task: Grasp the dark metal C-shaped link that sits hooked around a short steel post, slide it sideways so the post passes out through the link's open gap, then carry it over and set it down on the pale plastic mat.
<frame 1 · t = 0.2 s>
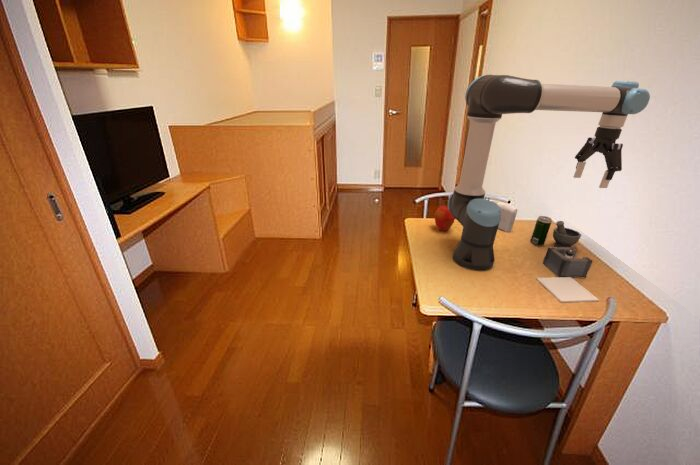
hand: (589, 182, 128), 28 cm above the table, fingers open, 13 cm apart
mat: (565, 289, 108), on the table
mortar and pestle: (560, 246, 137), on the table
stand: (563, 269, 120), on the table
beer can: (536, 243, 139), on the table
apple: (442, 229, 149), on the table
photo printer: (500, 228, 152), on the table
c link: (563, 269, 120), on the table
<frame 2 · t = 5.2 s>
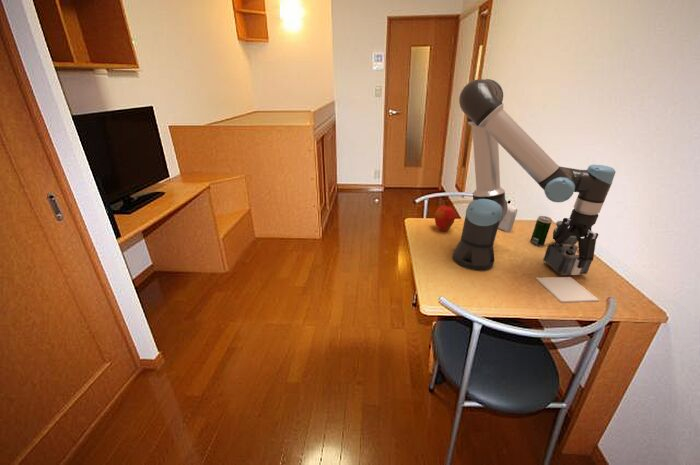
hand: (564, 266, 119), 2 cm above the table, fingers closed on c link, 10 cm apart
c link: (563, 266, 119), point 1 cm above the table, touching gripper
everything else where it was.
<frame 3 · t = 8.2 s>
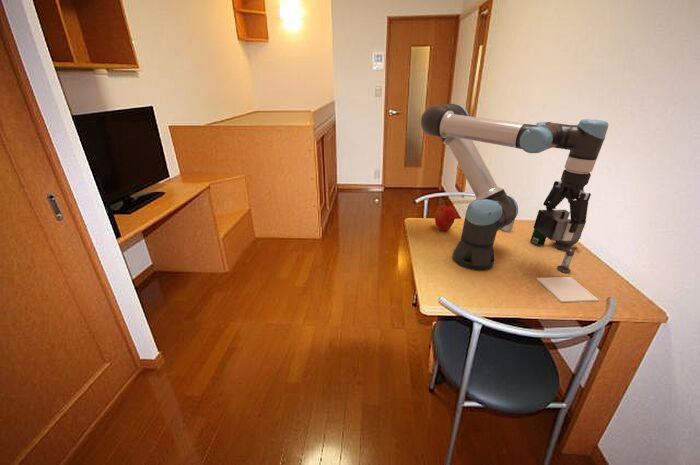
hand: (555, 233, 112), 16 cm above the table, fingers closed on c link, 10 cm apart
c link: (555, 233, 112), point 15 cm above the table, touching gripper
everything else where it was.
when the fingers open (2 cm above the table, at t = 11.4 s): c link stays where it is, resting on mat.
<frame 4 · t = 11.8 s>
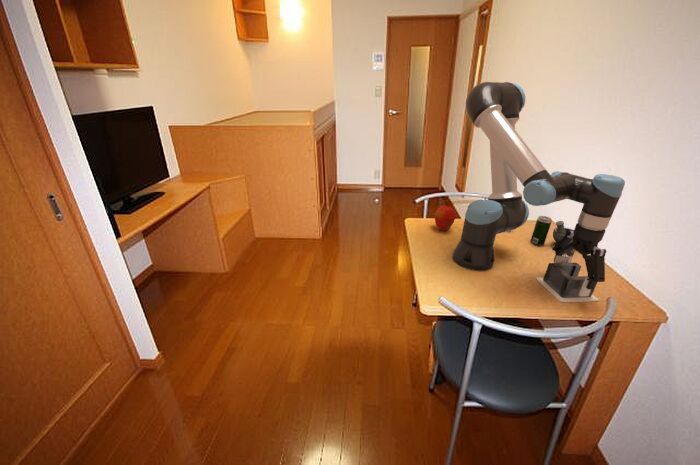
hand: (568, 283, 107), 3 cm above the table, fingers open, 13 cm apart
c link: (566, 288, 108), point 1 cm above the table, touching mat
everything else where it was.
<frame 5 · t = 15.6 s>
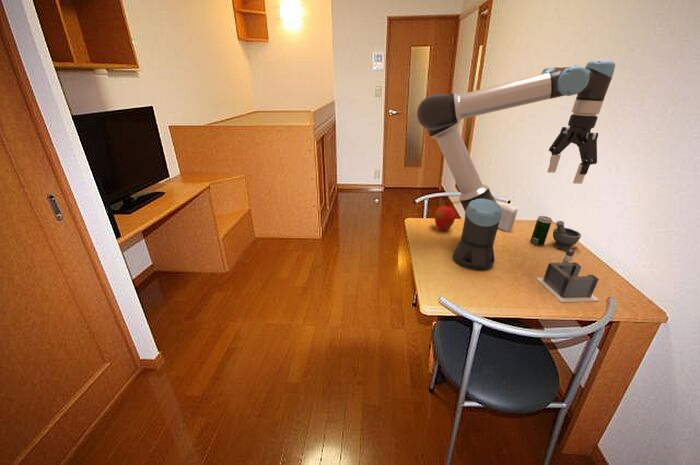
hand: (563, 177, 114), 33 cm above the table, fingers open, 13 cm apart
nothing on the table moved.
at the end: c link inside the target area on the mat (0.1 cm from its centre), point 0.6 cm above the mat's base; c link tilted 0°; the gripper is holding nothing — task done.
